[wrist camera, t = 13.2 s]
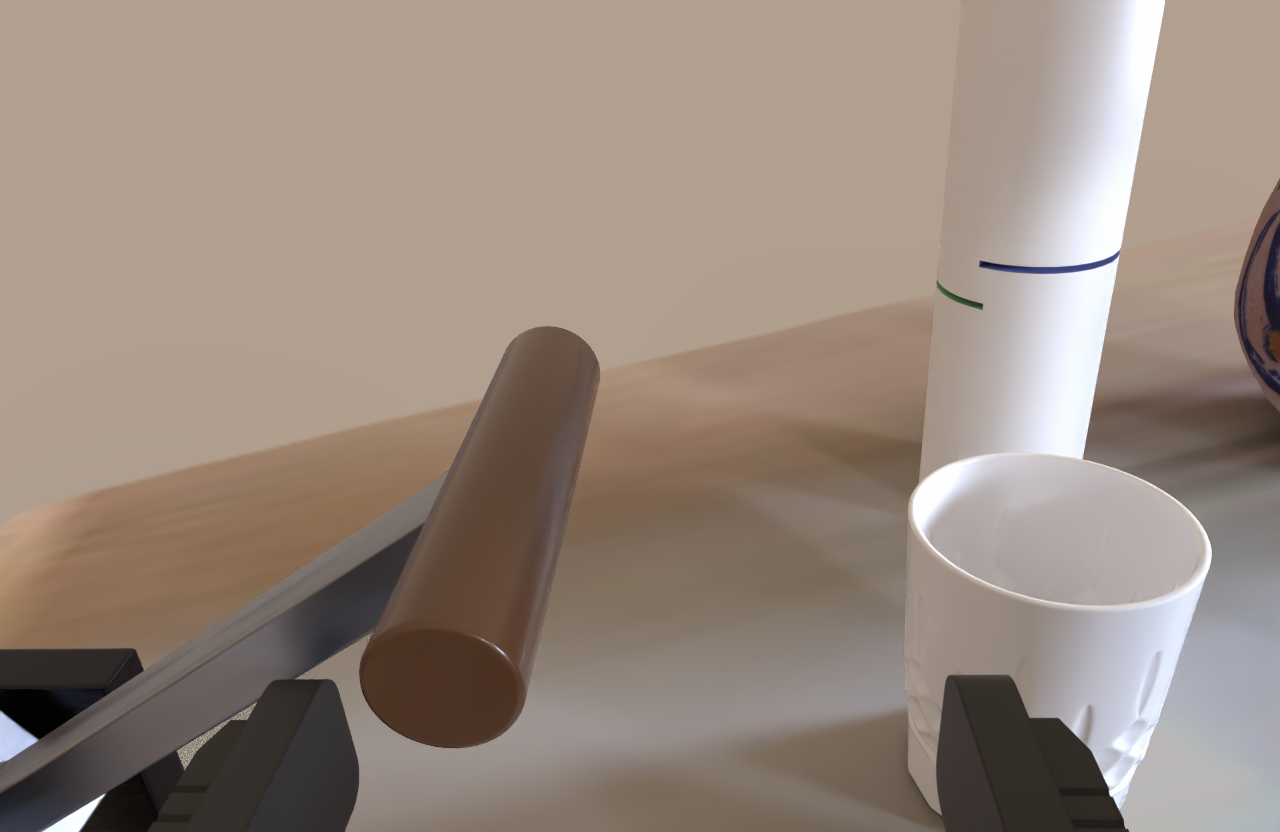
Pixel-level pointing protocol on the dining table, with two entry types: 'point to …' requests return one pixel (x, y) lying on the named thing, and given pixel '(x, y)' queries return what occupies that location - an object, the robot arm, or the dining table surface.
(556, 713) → the dining table surface
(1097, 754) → the white cup
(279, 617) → the lever
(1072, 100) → the cylindrical container
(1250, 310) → the ceramic pitcher
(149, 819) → the bracket
